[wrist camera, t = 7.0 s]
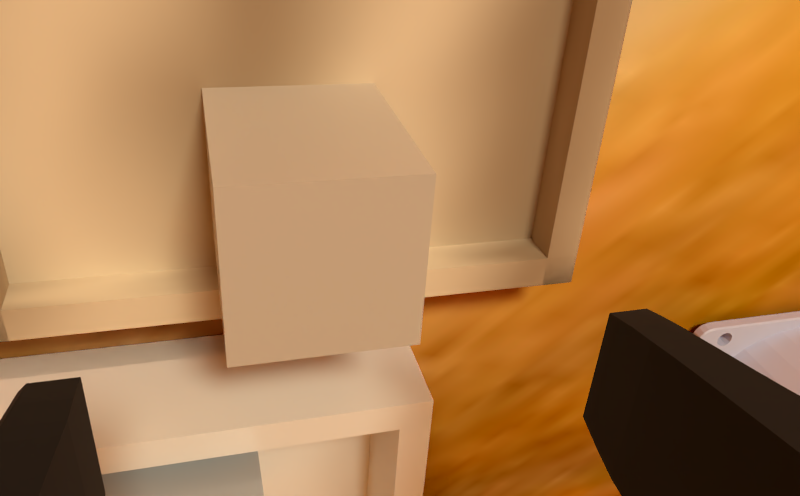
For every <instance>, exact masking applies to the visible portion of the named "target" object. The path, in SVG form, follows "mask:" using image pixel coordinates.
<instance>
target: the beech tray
mask: <svg viewBox="0 0 800 496" xmlns="http://www.w3.org/2000/svg"><path fill="white" fill-rule="evenodd" d="M631 4H632V0H0V342H6V341H15V340H25V339H34V338H44V337H53V336H63V335H72V334H82V333H91V332H101V331H110V330H120V329H129V328H139V327H148V326H158V325H167V324H177V323H186V322H196V321H205V320H215V319H222V313H221V304H220V294H219V284H218V275H217V265H216V255H215V246H214V235H213V222H212V210H211V198H210V185H209V173H208V161H207V148H206V136H205V123H204V111H203V99H202V88H220V87H255V86H290V85H325V84H359V83H374V84H375V85H376V87H377V88H378V89H379V91H380V92H381V94H382V95H383V97H384V98H385V100H386V101H387V103H388V104H389V105H390V107H391V108H392V110H393V111H394V113H395V114H396V116H397V117H398V119H399V120H400V122H401V123H402V124H403V126H404V127H405V129H406V130H407V132H408V133H409V135H410V136H411V138H412V139H413V140H414V142H415V143H416V145H417V146H418V148H419V149H420V151H421V152H422V154H423V155H424V156H425V158H426V159H427V161H428V162H429V164H430V165H431V167H432V168H433V170H434V171H435V172H436V183H435V193H434V204H433V214H432V224H431V235H430V245H429V256H428V266H427V277H426V287H425V297H433V296H443V295H452V294H462V293H471V292H481V291H490V290H500V289H509V288H519V287H528V286H538V285H547V284H557V283H566V282H571V279H572V274H573V270H574V265H575V261H576V256H577V252H578V247H579V242H580V238H581V233H582V229H583V224H584V219H585V215H586V210H587V206H588V201H589V197H590V192H591V187H592V183H593V178H594V174H595V169H596V164H597V160H598V155H599V151H600V146H601V142H602V137H603V132H604V128H605V123H606V119H607V114H608V109H609V105H610V100H611V96H612V91H613V87H614V82H615V77H616V73H617V68H618V64H619V59H620V54H621V50H622V45H623V41H624V36H625V31H626V27H627V22H628V18H629V13H630V9H631Z"/></svg>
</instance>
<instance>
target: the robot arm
mask: <svg viewBox="0 0 800 496" xmlns="http://www.w3.org/2000/svg"><path fill="white" fill-rule="evenodd" d="M583 418H584V420H585V422H586V424H587V427H588V429H589V431H590V434H591V436H592V438H593V441H594V443H595V445H596V447H597V450H598V452H599V454H600V456H601V458H602V460H603V462H604V464H605V466H606V469H607V471H608V473H609V475H610V477H611V479H612V480H613V482H614V484H615V485H616V487H617V489H618V490H619V492H620V494H621V495H622V496H800V311H796V312H788V313H780V314H773V315H765V316H757V317H749V318H741V319H733V320H725V321H717V322H710V323H706V324H703V325H701V326H699V327H698V328H697V329H696V330H695V331H694V333H691V332H689V331H688V330H686V329H684V328H682V327H681V326H679V325H677V324H675V323H673V322H672V321H670V320H668V319H666V318H664V317H662V316H660V315H658V314H656V313H654V312H652V311H650V310H648V309H641V310H632V311H624V312H616V313H610V314H609V318H608V322H607V326H606V330H605V334H604V338H603V342H602V345H601V349H600V353H599V357H598V361H597V365H596V369H595V372H594V376H593V380H592V384H591V388H590V392H589V396H588V399H587V403H586V407H585V411H584V415H583ZM0 496H105V488H104V484H103V479H102V474H101V470H100V465H99V460H98V456H97V451H96V446H95V442H94V437H93V432H92V428H91V423H90V418H89V414H88V409H87V404H86V400H85V395H84V390H83V386H82V381H81V377H75V378H67V379H59V380H51V381H42V382H34V383H26V384H25V385H24V386H23V387H22V388H21V389H20V390H19V391H18V392H17V394H16V396H15V397H14V399H13V400H12V402H11V404H10V405H9V407H8V409H7V410H6V412H5V413H4V415H3V416H2V418H1V420H0Z"/></svg>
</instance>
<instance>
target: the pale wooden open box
mask: <svg viewBox="0 0 800 496" xmlns="http://www.w3.org/2000/svg"><path fill="white" fill-rule="evenodd" d="M75 377H81V381H82V386H83V390H84V395H85V400H86V404H87V409H88V414H89V418H90V423H91V428H92V432H93V437H94V442H95V446H96V451H97V456H98V460H99V465H100V470H101V474H109V473H115V472H122V471H129V470H135V469H142V468H149V467H155V466H162V465H168V464H175V463H182V462H188V461H195V460H202V459H208V458H215V457H221V456H228V455H235V454H241V453H248V452H255V451H258V456H259V464H260V471H261V478H262V486H263V493H264V496H423V489H424V481H425V472H426V463H427V454H428V445H429V436H430V428H431V419H432V410H433V398H432V396H431V394H430V391H429V389H428V387H427V384H426V382H425V380H424V377H423V375H422V373H421V370H420V368H419V366H418V364H417V361H416V359H415V357H414V354H413V352H412V350H411V347H410V346H402V347H394V348H386V349H377V350H369V351H361V352H353V353H345V354H336V355H328V356H320V357H312V358H303V359H295V360H287V361H279V362H271V363H262V364H254V365H246V366H238V367H230V368H227V362H226V352H225V342H224V334H223V335H214V336H205V337H196V338H187V339H178V340H169V341H160V342H151V343H142V344H133V345H124V346H115V347H106V348H96V349H87V350H78V351H69V352H60V353H51V354H42V355H33V356H24V357H15V358H6V359H0V420H1V418H2V416H3V415H4V413H5V412H6V410H7V409H8V407H9V405H10V404H11V402H12V400H13V399H14V397H15V396H16V394H17V392H18V391H19V390H20V389H21V388H22V387H23V386H24V385H25V384H26V383H34V382H42V381H51V380H59V379H67V378H75Z"/></svg>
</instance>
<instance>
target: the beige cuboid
mask: <svg viewBox="0 0 800 496" xmlns="http://www.w3.org/2000/svg"><path fill="white" fill-rule="evenodd" d="M202 99H203V111H204V123H205V136H206V148H207V161H208V173H209V185H210V198H211V210H212V222H213V235H214V246H215V255H216V265H217V275H218V284H219V294H220V304H221V313H222V323H223V333H224V342H225V352H226V362H227V368H230V367H238V366H246V365H254V364H262V363H271V362H279V361H287V360H295V359H303V358H312V357H320V356H328V355H336V354H345V353H353V352H361V351H369V350H377V349H386V348H394V347H402V346H410V345H418V344H420V339H421V329H422V319H423V308H424V298H425V287H426V277H427V266H428V256H429V245H430V235H431V224H432V214H433V204H434V193H435V183H436V172H435V171H434V170H433V168H432V167H431V165H430V164H429V162H428V161H427V159H426V158H425V156H424V155H423V154H422V152H421V151H420V149H419V148H418V146H417V145H416V143H415V142H414V140H413V139H412V138H411V136H410V135H409V133H408V132H407V130H406V129H405V127H404V126H403V124H402V123H401V122H400V120H399V119H398V117H397V116H396V114H395V113H394V111H393V110H392V108H391V107H390V105H389V104H388V103H387V101H386V100H385V98H384V97H383V95H382V94H381V92H380V91H379V89H378V88H377V87H376V85H375V84H374V83H359V84H325V85H290V86H255V87H220V88H202Z"/></svg>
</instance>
